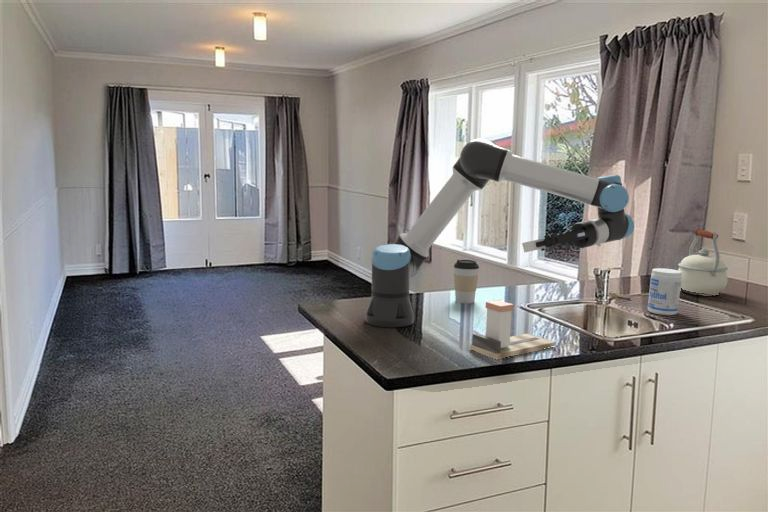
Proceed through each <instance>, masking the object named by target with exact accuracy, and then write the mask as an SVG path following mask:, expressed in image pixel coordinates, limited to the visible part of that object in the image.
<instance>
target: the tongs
mask: <svg viewBox="0 0 768 512" xmlns="http://www.w3.org/2000/svg"><path fill="white" fill-rule="evenodd" d="M608 293H609V295H610V296H609V297H611V296H616V297H619V298H618V299H623V300H627V301H632V299H631V298H629V297H624V296H621V295H620V294H618V293H615V292H608ZM616 297H615V298H616Z"/></svg>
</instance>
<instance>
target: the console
mask: <svg viewBox="0 0 768 512" xmlns="http://www.w3.org/2000/svg"><path fill="white" fill-rule="evenodd" d="M471 340H472V341H471V344H470V347H469V350H470V349H471V350H474V351H476V352H475V353H477V352H479V353H481V354H480V355H482V354H483V355H482V356H484V355H486V356H485V357H487V356H488V357H487V358H490V357H491V358H490V359H492V358H493V359H492V360H495V359H496V360H495V361H498V360H497V359H499V360H502V359H501V358H504V359H506V358H505V357H508V358H510V357H509V356H513V355H518V356H520V355H519V354H522V355H526V354H525V353H527V354H530V353H529V352H531V353H535V352H534V351H536V352H538V350H540V351H543V350H542V349H544V348H548V347H551V346H556V342H555V341H552V340H549V339H547V338H543V337H540V336H537V335H535V334H531V333H523V334H517V335H512V336H511V335H510V346H509V347H504V348H501V341H498V340H495V339H492V338H489V337H486V335H483V334H481V333H478V332H477V333H472V339H471ZM471 350H470V351H471ZM474 351H473V352H474ZM479 353H478V354H479ZM513 357H514V356H513Z"/></svg>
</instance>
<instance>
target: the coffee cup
mask: <svg viewBox="0 0 768 512" xmlns="http://www.w3.org/2000/svg"><path fill="white" fill-rule="evenodd" d="M453 268H454V269H453V270H454V273H453V279H454V293H455V294H454V295H455V303H456V302H457V303H459V304H465V305H466V304H473V303H475V299H476V291H477V285H478V280H479V270H480V267H479V264H478V263H477V261H475V260H472V259H457V260H456V262H455V263H454V266H453Z"/></svg>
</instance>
